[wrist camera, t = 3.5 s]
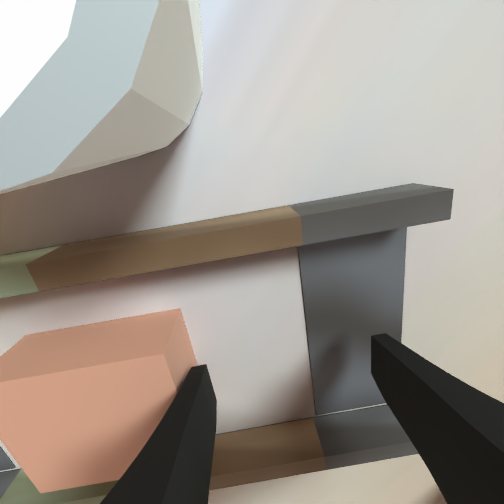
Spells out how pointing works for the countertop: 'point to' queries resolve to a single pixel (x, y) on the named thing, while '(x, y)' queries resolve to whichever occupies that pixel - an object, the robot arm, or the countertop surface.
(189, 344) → the brick block
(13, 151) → the shot glass
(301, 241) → the channel
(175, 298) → the countertop surface
